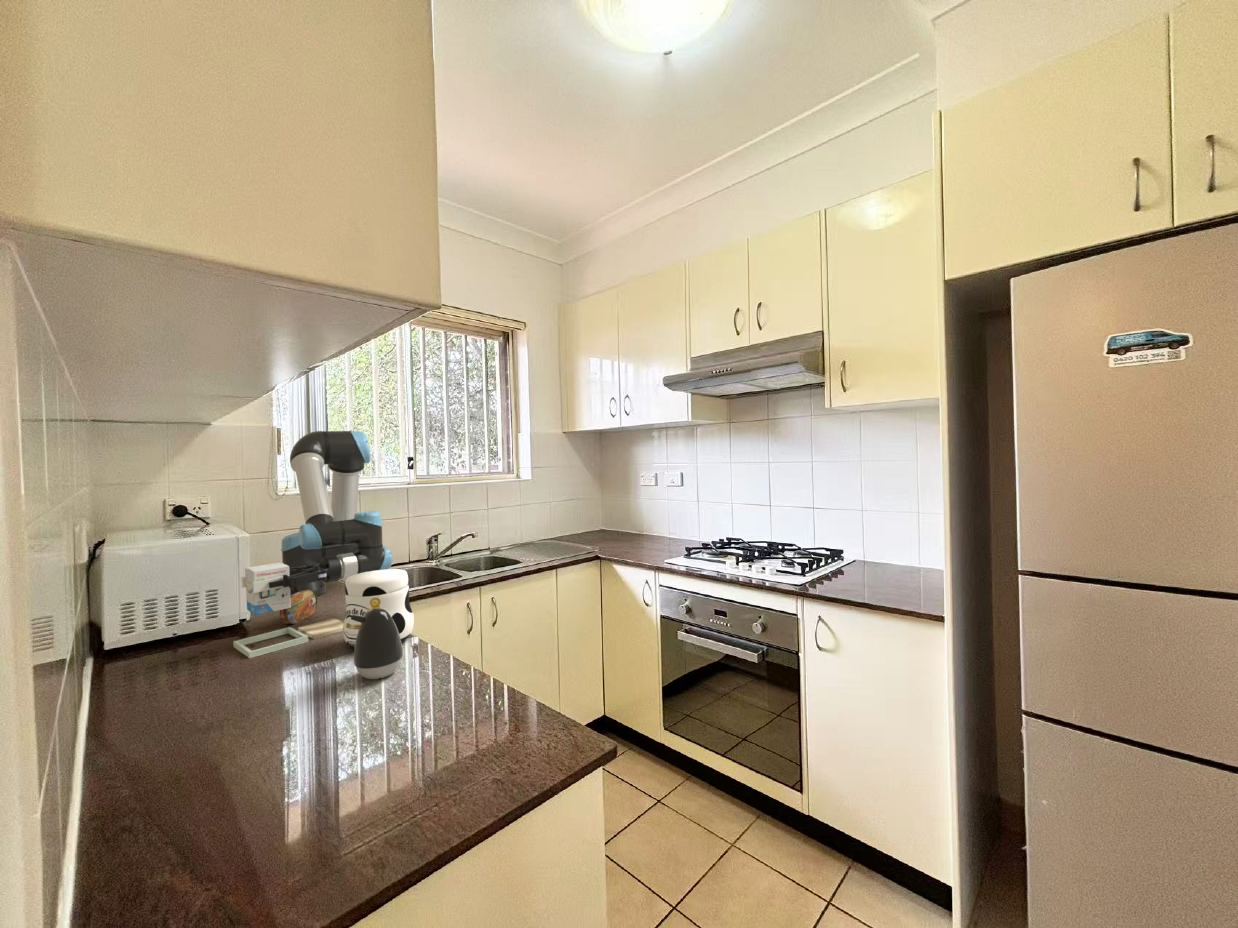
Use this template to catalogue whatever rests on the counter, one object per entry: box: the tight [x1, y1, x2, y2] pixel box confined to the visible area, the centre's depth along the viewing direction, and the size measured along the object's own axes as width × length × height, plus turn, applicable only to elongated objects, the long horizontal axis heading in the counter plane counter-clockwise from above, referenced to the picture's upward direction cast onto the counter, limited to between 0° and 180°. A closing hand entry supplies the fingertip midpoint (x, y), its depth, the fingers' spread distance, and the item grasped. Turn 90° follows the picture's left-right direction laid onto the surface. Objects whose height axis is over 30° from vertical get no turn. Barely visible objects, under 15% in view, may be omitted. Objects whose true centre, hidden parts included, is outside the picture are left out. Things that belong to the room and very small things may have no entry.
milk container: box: [342, 568, 415, 649], centre depth 138 cm, size 17×17×18 cm
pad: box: [297, 617, 344, 640], centre depth 150 cm, size 12×10×1 cm
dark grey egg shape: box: [351, 608, 404, 680], centre depth 117 cm, size 10×10×15 cm
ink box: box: [244, 561, 291, 616], centre depth 139 cm, size 8×8×12 cm
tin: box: [279, 590, 318, 625], centre depth 161 cm, size 15×3×8 cm, turn 179°
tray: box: [233, 626, 309, 659], centre depth 140 cm, size 14×14×2 cm
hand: (247, 584), depth 136 cm, fingers closed on ink box, 9 cm apart
